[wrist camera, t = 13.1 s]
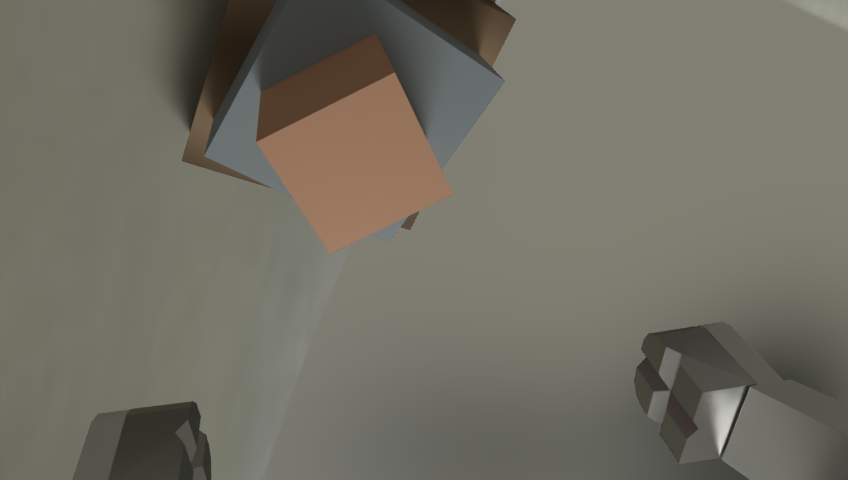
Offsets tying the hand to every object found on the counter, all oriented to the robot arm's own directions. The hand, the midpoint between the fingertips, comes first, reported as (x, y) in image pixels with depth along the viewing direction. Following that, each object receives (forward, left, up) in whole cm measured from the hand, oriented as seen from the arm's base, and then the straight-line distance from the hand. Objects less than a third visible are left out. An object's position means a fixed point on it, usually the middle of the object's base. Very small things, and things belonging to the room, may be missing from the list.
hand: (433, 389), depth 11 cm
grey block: (-1, -1, -20) cm, 20 cm away
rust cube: (-1, 0, -16) cm, 16 cm away
